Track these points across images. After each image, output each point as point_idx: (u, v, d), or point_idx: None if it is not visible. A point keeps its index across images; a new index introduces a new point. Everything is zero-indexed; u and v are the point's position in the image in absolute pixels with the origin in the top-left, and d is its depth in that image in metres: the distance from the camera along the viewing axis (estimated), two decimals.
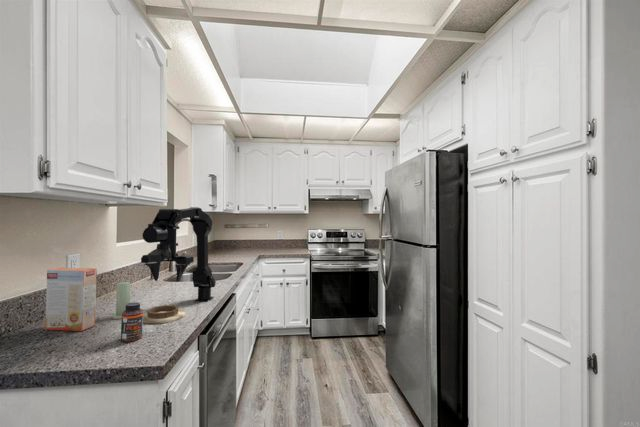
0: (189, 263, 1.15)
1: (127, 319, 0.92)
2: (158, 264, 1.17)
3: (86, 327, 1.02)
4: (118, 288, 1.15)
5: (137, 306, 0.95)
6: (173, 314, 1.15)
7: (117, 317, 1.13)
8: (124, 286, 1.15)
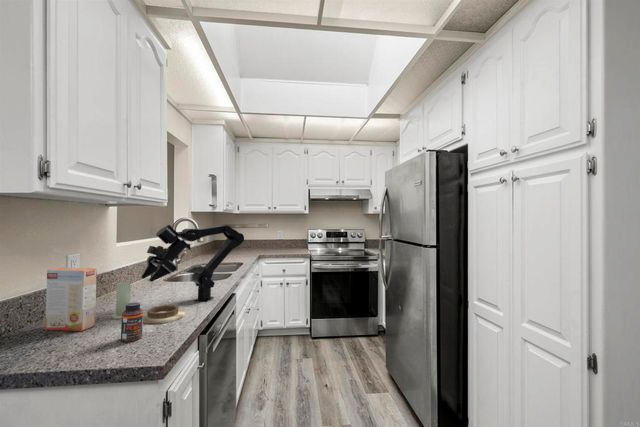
0: (169, 271, 1.22)
1: (127, 319, 0.92)
2: (155, 268, 1.30)
3: (86, 327, 1.02)
4: (118, 288, 1.15)
5: (137, 306, 0.95)
6: (173, 314, 1.15)
7: (117, 317, 1.13)
8: (124, 286, 1.15)
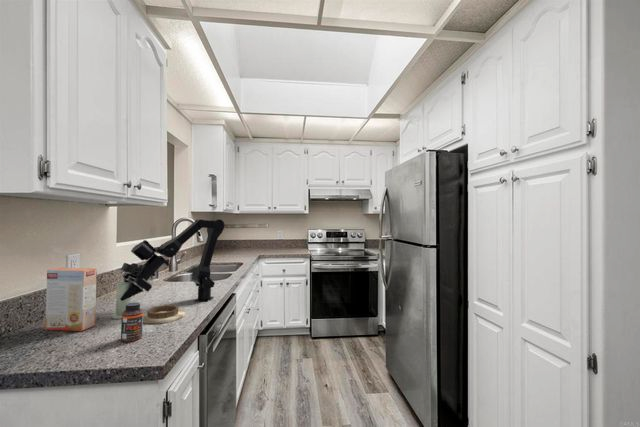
0: (141, 289, 1.17)
1: (127, 319, 0.92)
2: None
3: (86, 327, 1.02)
4: (118, 288, 1.15)
5: (137, 306, 0.95)
6: (173, 314, 1.15)
7: (117, 317, 1.13)
8: (124, 286, 1.15)
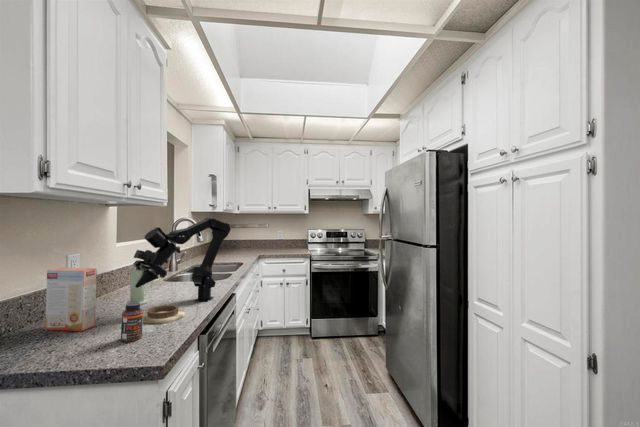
0: (156, 276, 1.16)
1: (127, 319, 0.92)
2: None
3: (86, 327, 1.02)
4: (132, 275, 1.14)
5: (137, 306, 0.95)
6: (173, 314, 1.15)
7: None
8: (138, 273, 1.14)
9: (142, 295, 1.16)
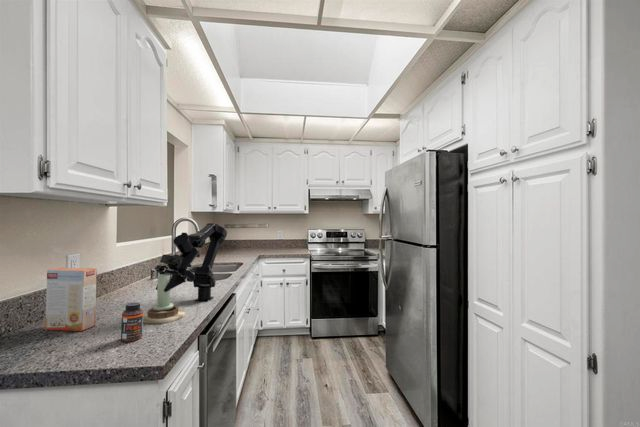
0: (184, 280, 1.18)
1: (127, 319, 0.92)
2: None
3: (86, 327, 1.02)
4: (161, 279, 1.15)
5: (137, 306, 0.95)
6: (173, 314, 1.15)
7: (161, 308, 1.14)
8: (166, 278, 1.16)
9: (169, 299, 1.17)
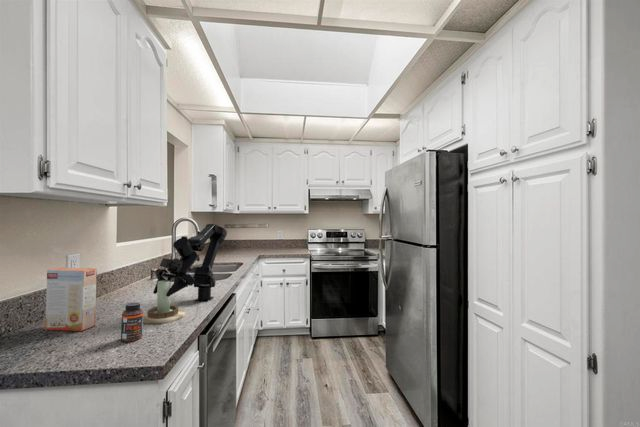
0: (186, 284, 1.18)
1: (127, 319, 0.92)
2: None
3: (86, 327, 1.02)
4: (161, 286, 1.15)
5: (137, 306, 0.95)
6: (173, 314, 1.15)
7: None
8: (166, 284, 1.15)
9: (169, 306, 1.17)
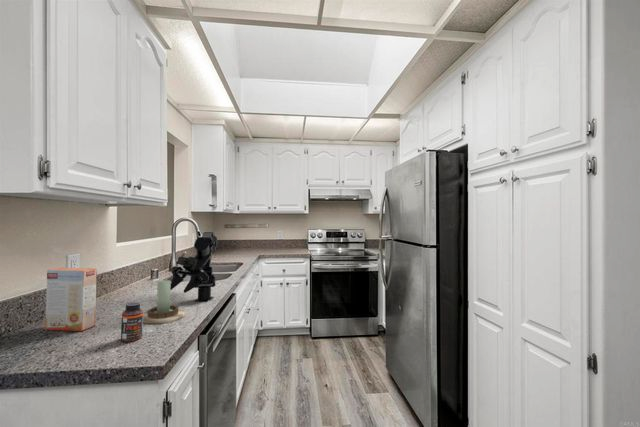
0: (202, 281, 1.24)
1: (127, 319, 0.92)
2: (180, 279, 1.29)
3: (86, 327, 1.02)
4: (161, 286, 1.15)
5: (137, 306, 0.95)
6: (173, 314, 1.15)
7: None
8: (166, 284, 1.15)
9: (169, 306, 1.17)
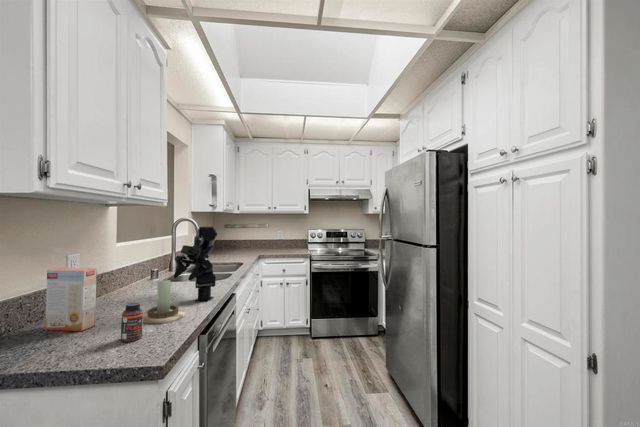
0: (206, 269, 1.26)
1: (127, 319, 0.92)
2: (184, 268, 1.31)
3: (86, 327, 1.02)
4: (161, 286, 1.15)
5: (137, 306, 0.95)
6: (173, 314, 1.15)
7: None
8: (166, 284, 1.15)
9: (169, 306, 1.17)
